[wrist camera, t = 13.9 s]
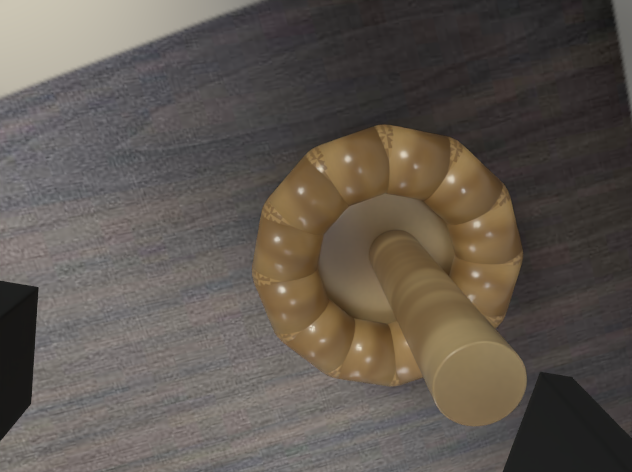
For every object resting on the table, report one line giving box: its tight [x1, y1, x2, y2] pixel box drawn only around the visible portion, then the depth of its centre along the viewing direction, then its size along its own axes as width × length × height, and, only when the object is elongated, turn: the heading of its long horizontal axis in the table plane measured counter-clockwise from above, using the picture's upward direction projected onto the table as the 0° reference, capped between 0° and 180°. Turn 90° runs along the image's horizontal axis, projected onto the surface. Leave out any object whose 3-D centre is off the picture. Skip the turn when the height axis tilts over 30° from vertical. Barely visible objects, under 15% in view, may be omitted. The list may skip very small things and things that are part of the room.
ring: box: [252, 124, 523, 386], centre depth 24 cm, size 12×12×3 cm
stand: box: [317, 184, 527, 426], centre depth 20 cm, size 9×9×14 cm
